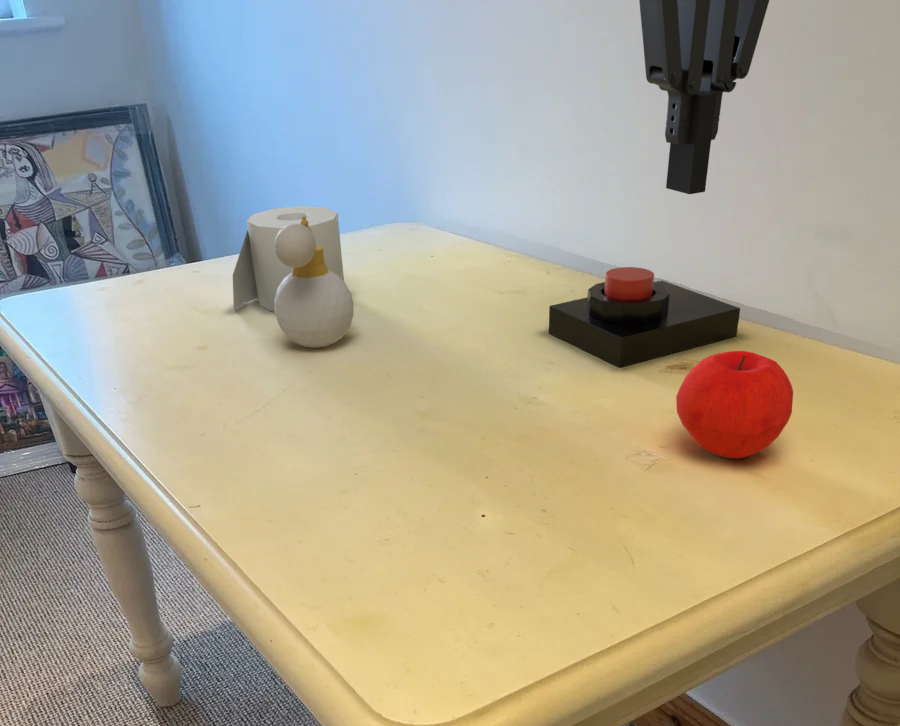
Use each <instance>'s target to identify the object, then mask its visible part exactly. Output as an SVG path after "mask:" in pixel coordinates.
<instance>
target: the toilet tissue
mask: <svg viewBox="0 0 900 726" xmlns="http://www.w3.org/2000/svg"><path fill="white" fill-rule="evenodd" d="M303 216H305V217H306V220H307V221H308V227H309V228H311V230H312V234H313V235H314V238H315V242H316V244H317V245H321V246H322V247H323V254H324V262H325V264H326V267H327V269H328V270H329V271H331V272H333V273H335V274H337V275H338V276H339V277H340V278H341V279H342V280H343V281H344V282H345V277H344V265H343V253H342V246H341V245H342V244H341V234H340V225H339V224H340V223H339V213H338V211H335V210H333V209H330V208H327V207H324V206H323V207H321V206H306V205H297V206H287V207H278V208H270V209H267V210H263V211H260V212H256V213H253V214H251V216H250V217H249V218H248V219H247V220H246V228H247V230H246V233H245V237H244V240H243V242H242V246H241V249H240V252H239V255H238V258H237V262H236V263H235V267H234V270H233V273H232V294H233V295H232V298H233V311H236V310H237V309H239V308H240V307H241V306H243V305H244V304H245V303H249V302H251V301H254V300H257V301H258V305H259V306H261V307H262V308H264V309H266V310H268V311H269V312H274V300H275V296H276V293H277V289H278V287H279V286H280V284H281V283H282V281H283V280H284V278H285V277H287V276H288V275H289V274H290V273H292V269H293V267H288V266H286V265H285V264H283V263H282V262H281V261H280V260H279V259H278V257H277V256H276V253H275V249H274V241H275V238H276V235H277V234H278V232H279V231H280V230H281V229H282V228H283V227H285V226H287V225H289V224H301V221H302V217H303Z"/></svg>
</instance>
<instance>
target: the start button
mask: <svg viewBox="0 0 900 726" xmlns="http://www.w3.org/2000/svg"><path fill="white" fill-rule="evenodd" d="M604 282H605V290H604V295H605V296H607V297H610V298H612V299H620V300H642V299H646V298H650V297H652V294H653V283H654V282H655V273H654V271H652V270H650V269H647V268H643V267H637V266H636V267H635V266H623V267H616V268H615V267H614V268H612V269H609V270H607V271H606V272H605V276H604Z"/></svg>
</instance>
